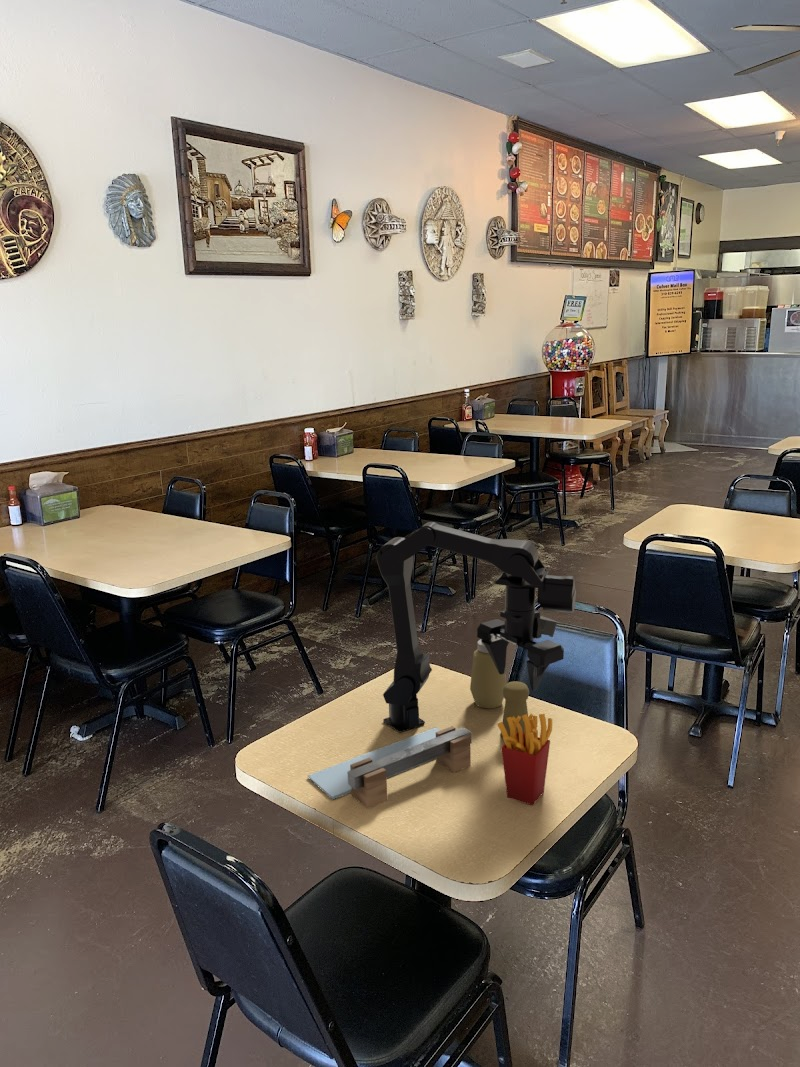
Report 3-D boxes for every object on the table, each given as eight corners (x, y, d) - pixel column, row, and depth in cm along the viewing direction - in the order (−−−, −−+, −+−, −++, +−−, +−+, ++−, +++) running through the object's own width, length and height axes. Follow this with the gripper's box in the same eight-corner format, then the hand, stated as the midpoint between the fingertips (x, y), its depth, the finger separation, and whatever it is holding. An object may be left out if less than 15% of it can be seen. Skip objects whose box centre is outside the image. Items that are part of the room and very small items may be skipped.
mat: (307, 778, 148) (307, 775, 148) (436, 729, 164) (436, 727, 164) (332, 799, 141) (332, 796, 141) (463, 747, 157) (463, 744, 157)
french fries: (536, 809, 136) (536, 729, 132) (492, 796, 140) (491, 718, 137) (555, 784, 143) (556, 708, 140) (512, 773, 147) (513, 698, 144)
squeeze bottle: (510, 697, 178) (510, 621, 174) (502, 713, 171) (502, 634, 166) (475, 693, 181) (474, 618, 176) (466, 709, 173) (465, 631, 169)
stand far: (436, 760, 152) (435, 732, 151) (452, 754, 155) (452, 726, 153) (454, 772, 148) (453, 743, 147) (470, 765, 150) (470, 736, 149)
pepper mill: (529, 727, 164) (530, 677, 162) (531, 741, 158) (532, 690, 156) (500, 726, 165) (500, 677, 162) (501, 741, 159) (500, 690, 156)
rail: (355, 789, 137) (354, 777, 137) (348, 784, 139) (347, 771, 139) (471, 743, 152) (471, 731, 151) (463, 738, 153) (463, 727, 153)
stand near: (351, 795, 142) (350, 764, 141) (370, 787, 144) (369, 757, 143) (368, 808, 138) (366, 777, 136) (387, 800, 140) (386, 770, 138)
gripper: (585, 611, 151) (581, 687, 154) (516, 586, 165) (514, 656, 169) (543, 624, 144) (540, 703, 148) (475, 597, 159) (474, 669, 163)
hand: (517, 681), depth 157 cm, fingers open, 9 cm apart
